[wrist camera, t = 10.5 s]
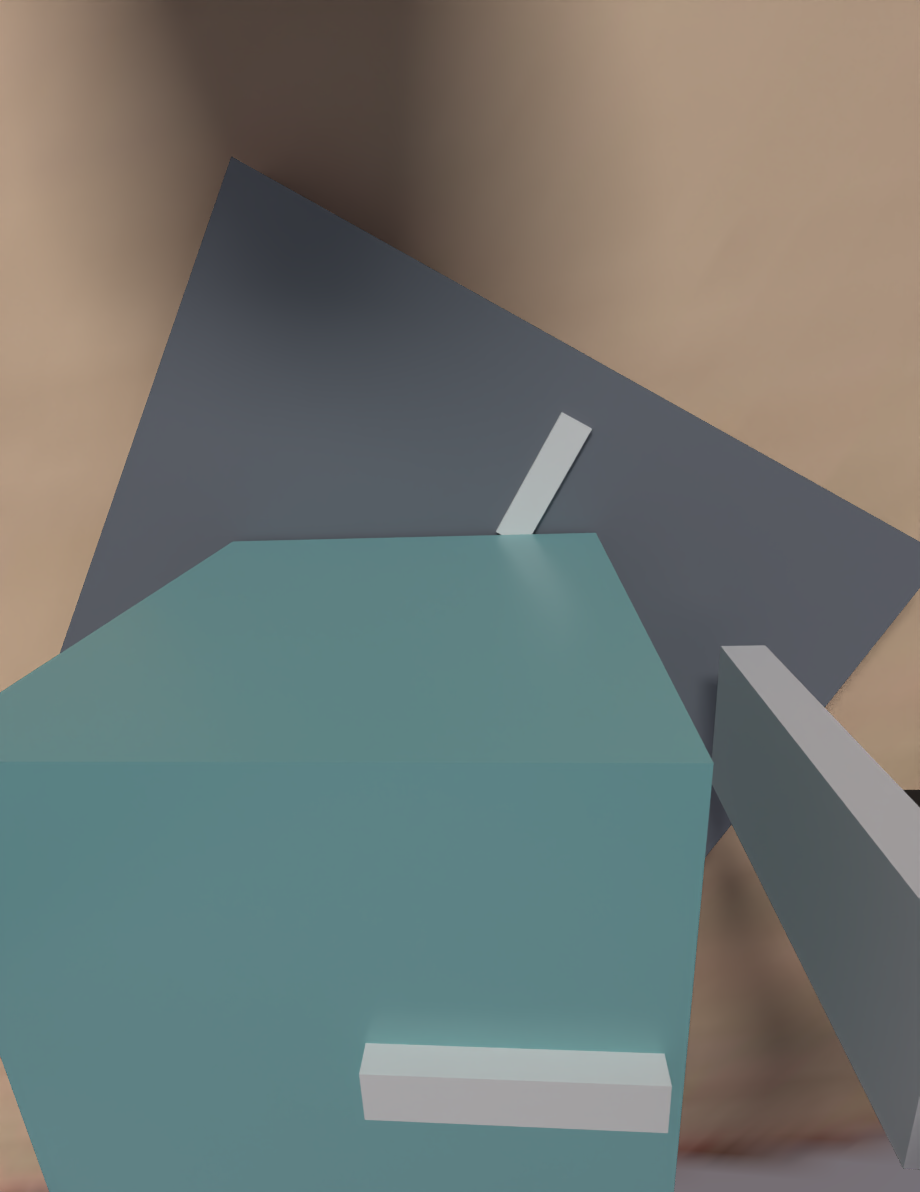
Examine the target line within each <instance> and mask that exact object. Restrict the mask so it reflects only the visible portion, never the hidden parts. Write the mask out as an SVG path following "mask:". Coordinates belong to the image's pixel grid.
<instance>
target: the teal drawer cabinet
mask: <svg viewBox="0 0 920 1192" xmlns="http://www.w3.org/2000/svg"><path fill="white" fill-rule="evenodd" d="M713 765H714V763H713V761H712V759H711V757H710V755H709V753H708V751H707V749H706V747H705V745H704V743H703V741H702V739H701V738H700V736H699V734H698V732H697V730H696V728H695V726H694V724H693V722H692V720H691V718H690V716H689V714H688V712H687V710H686V708H685V706H684V704H683V702H682V700H681V698H680V696H679V694H678V693H677V691H676V689H675V687H674V685H673V683H672V681H671V679H670V677H669V675H668V673H667V671H666V669H665V667H664V665H663V663H662V661H661V659H660V657H659V655H658V653H657V651H656V649H655V647H654V646H653V644H652V642H651V640H650V638H649V636H648V634H647V632H646V630H645V628H644V626H643V624H642V622H641V620H640V618H639V616H638V614H637V612H636V610H635V608H634V606H633V604H632V602H631V601H630V599H629V597H628V595H627V593H626V591H625V589H624V587H623V585H622V583H621V581H620V579H619V577H618V575H617V573H616V571H615V569H614V567H613V565H612V563H611V561H610V559H609V557H608V556H607V554H606V552H605V550H604V548H603V546H602V544H601V542H600V540H599V538H598V536H597V534H596V533H562V534H520V535H478V536H437V537H395V538H353V539H311V540H269V541H233V542H231V543H230V544H228V545H227V546H225V547H224V548H222V549H221V550H219V551H217V552H216V553H214V554H213V555H211V556H210V557H208V558H207V559H205V560H204V561H202V562H201V563H199V564H197V565H196V566H194V567H193V568H191V569H190V570H188V571H187V572H185V573H184V574H182V575H180V576H179V577H177V578H176V579H174V580H173V581H171V582H170V583H168V584H167V585H165V586H164V587H162V588H160V589H159V590H157V591H156V592H154V593H153V594H151V595H150V596H148V597H147V598H145V599H143V600H142V601H140V602H139V603H137V604H136V605H134V606H133V607H131V608H130V609H128V610H127V611H125V612H123V613H122V614H120V615H119V616H117V617H116V618H114V619H113V620H111V621H110V622H108V623H106V624H105V625H103V626H102V627H100V628H99V629H97V630H96V631H94V632H93V633H91V634H90V635H88V636H86V637H85V638H83V639H82V640H80V641H79V642H77V643H76V644H74V645H73V646H71V647H69V648H68V649H66V650H65V651H63V652H62V653H60V654H59V655H57V656H56V657H54V658H53V659H51V660H49V661H48V662H46V663H45V664H43V665H42V666H40V667H39V668H37V669H36V670H34V671H32V672H31V673H29V674H28V675H26V676H25V677H23V678H22V679H20V680H19V681H17V682H16V683H14V684H12V685H11V686H9V687H8V688H6V689H5V690H3V691H2V692H0V1057H1V1059H2V1062H3V1065H4V1068H5V1070H6V1073H7V1076H8V1079H9V1081H10V1084H11V1087H12V1090H13V1093H14V1095H15V1098H16V1101H17V1104H18V1106H19V1109H20V1112H21V1115H22V1118H23V1120H24V1123H25V1126H26V1129H27V1131H28V1134H29V1137H30V1140H31V1142H32V1145H33V1148H34V1151H35V1154H36V1156H37V1159H38V1162H39V1165H40V1167H41V1170H42V1173H43V1176H44V1178H45V1181H46V1184H47V1187H48V1190H49V1192H674V1186H675V1175H676V1164H677V1153H678V1143H679V1132H680V1121H681V1110H682V1099H683V1089H684V1078H685V1067H686V1056H687V1045H688V1035H689V1024H690V1013H691V1002H692V992H693V981H694V970H695V959H696V948H697V938H698V927H699V916H700V905H701V895H702V884H703V873H704V862H705V851H706V841H707V830H708V819H709V808H710V798H711V787H712V776H713Z"/></svg>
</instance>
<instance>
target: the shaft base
mask: <svg viewBox="0 0 920 1192" xmlns="http://www.w3.org/2000/svg"><path fill="white" fill-rule="evenodd" d="M562 533H596V534H597V536H598V538H599V540H600V542H601V544H602V546H603V548H604V550H605V552H606V554H607V556H608V557H609V559H610V561H611V563H612V565H613V567H614V569H615V571H616V573H617V575H618V577H619V579H620V581H621V583H622V585H623V587H624V589H625V591H626V593H627V595H628V597H629V599H630V601H631V602H632V604H633V606H634V608H635V610H636V612H637V614H638V616H639V618H640V620H641V622H642V624H643V626H644V628H645V630H646V632H647V634H648V636H649V638H650V640H651V642H652V644H653V646H654V647H655V649H656V651H657V653H658V655H659V657H660V659H661V661H662V663H663V665H664V667H665V669H666V671H667V673H668V675H669V677H670V679H671V681H672V683H673V685H674V687H675V689H676V691H677V693H678V694H679V696H680V698H681V700H682V702H683V704H684V706H685V708H686V710H687V712H688V714H689V716H690V718H691V720H692V722H693V724H694V726H695V728H696V730H697V732H698V734H699V736H700V738H701V739H702V741H703V743H704V745H705V747H706V749H707V751H708V753H709V755H710V757H711V759H712V751H713V738H714V725H715V713H716V700H717V687H718V675H719V662H720V649H721V646H754V645H765V646H766V647H767V648H768V649H769V650H770V651H771V652H772V653H773V654H774V655H775V656H776V657H777V658H778V659H779V660H780V661H781V662H782V663H783V665H784V666H785V667H786V668H787V669H788V670H789V671H790V672H791V673H792V674H793V675H794V676H795V677H796V678H797V679H798V680H799V681H800V682H801V683H802V684H803V686H804V687H805V688H806V689H807V690H808V691H809V692H810V693H811V694H812V695H813V696H814V697H815V698H816V699H817V700H818V701H819V702H820V703H821V704H822V705H823V707H824V708H825V706H826V705H827V704H828V703H829V701H830V700H831V699H832V698H833V696H834V695H835V694H836V693H837V691H838V690H839V689H840V688H841V686H842V685H843V684H844V682H845V681H846V680H847V679H848V677H849V676H850V675H851V674H852V672H853V671H854V670H855V669H856V667H857V666H858V665H859V664H860V662H861V661H862V660H863V659H864V657H865V656H866V655H867V654H868V652H869V651H870V650H871V649H872V647H873V646H874V645H875V644H876V642H877V641H878V640H879V639H880V637H881V636H882V635H883V633H884V632H885V631H886V630H887V628H888V627H889V626H890V625H891V623H892V622H893V621H894V620H895V618H896V617H897V616H898V615H899V613H900V612H901V611H902V610H903V608H904V607H905V606H906V605H907V603H908V602H909V601H910V600H911V598H912V597H913V596H914V595H915V593H916V592H917V591H918V590H919V588H920V542H919V541H917V540H915V539H914V538H912V537H910V536H908V535H907V534H905V533H903V532H901V531H899V530H898V529H896V528H894V527H892V526H890V525H889V524H887V523H885V522H883V521H882V520H880V519H878V518H876V517H874V516H873V515H871V514H869V513H867V512H865V511H864V510H862V509H860V508H858V507H857V506H855V505H853V504H851V503H849V502H848V501H846V500H844V499H842V498H840V497H839V496H837V495H835V494H833V493H832V492H830V491H828V490H826V489H824V488H823V487H821V486H819V485H817V484H815V483H814V482H812V481H810V480H808V479H807V478H805V477H803V476H801V475H799V474H798V473H796V472H794V471H792V470H790V469H789V468H787V467H785V466H783V465H782V464H780V463H778V462H776V461H774V460H773V459H771V458H769V457H767V456H765V455H764V454H762V453H760V452H758V451H757V450H755V449H753V448H751V447H749V446H748V445H746V444H744V443H742V442H740V441H739V440H737V439H735V438H733V437H732V436H730V435H728V434H726V433H724V432H723V431H721V430H719V429H717V428H715V427H714V426H712V425H710V424H708V423H707V422H705V421H703V420H701V419H699V418H698V417H696V416H694V415H692V414H690V413H689V412H687V411H685V410H683V409H682V408H680V407H678V406H676V405H674V404H673V403H671V402H669V401H667V400H665V399H664V398H662V397H660V396H658V395H656V394H655V393H653V392H651V391H649V390H648V389H646V388H644V387H642V386H640V385H639V384H637V383H635V382H633V381H631V380H630V379H628V378H626V377H624V376H623V375H621V374H619V373H617V372H615V371H614V370H612V369H610V368H608V367H606V366H605V365H603V364H601V363H599V362H598V361H596V360H594V359H592V358H590V357H589V356H587V355H585V354H583V353H581V352H580V351H578V350H576V349H574V348H573V347H571V346H569V345H567V344H565V343H564V342H562V341H560V340H558V339H556V338H555V337H553V336H551V335H549V334H548V333H546V332H544V331H542V330H540V329H539V328H537V327H535V326H533V325H531V324H530V323H528V322H526V321H524V320H523V319H521V318H519V317H517V316H515V315H514V314H512V313H510V312H508V311H506V310H505V309H503V308H501V307H499V306H498V305H496V304H494V303H492V302H490V301H489V300H487V299H485V298H483V297H481V296H480V295H478V294H476V293H474V292H473V291H471V290H469V289H467V288H465V287H464V286H462V285H460V284H458V283H456V282H455V281H453V280H451V279H449V278H448V277H446V276H444V275H442V274H440V273H439V272H437V271H435V270H433V269H431V268H430V267H428V266H426V265H424V264H423V263H421V262H419V261H417V260H415V259H414V258H412V257H410V256H408V255H406V254H405V253H403V252H401V251H399V250H398V249H396V248H394V247H392V246H390V245H389V244H387V243H385V242H383V241H381V240H380V239H378V238H376V237H374V236H372V235H371V234H369V233H367V232H365V231H364V230H362V229H360V228H358V227H356V226H355V225H353V224H351V223H349V222H347V221H346V220H344V219H342V218H340V217H339V216H337V215H335V214H333V213H331V212H330V211H328V210H326V209H324V208H322V207H321V206H319V205H317V204H315V203H314V202H312V201H310V200H308V199H306V198H305V197H303V196H301V195H299V194H297V193H296V192H294V191H292V190H290V189H289V188H287V187H285V186H283V185H281V184H280V183H278V182H276V181H274V180H272V179H271V178H269V177H267V176H265V175H264V174H262V173H260V172H258V171H256V170H255V169H253V168H251V167H249V166H247V165H246V164H244V163H242V162H240V161H239V160H237V159H235V158H233V157H231V159H230V162H229V165H228V168H227V171H226V173H225V176H224V179H223V182H222V185H221V188H220V191H219V194H218V197H217V200H216V202H215V205H214V208H213V211H212V214H211V217H210V220H209V223H208V226H207V229H206V231H205V234H204V237H203V240H202V243H201V246H200V249H199V252H198V255H197V257H196V260H195V263H194V266H193V269H192V272H191V275H190V278H189V281H188V284H187V286H186V289H185V292H184V295H183V298H182V301H181V304H180V307H179V310H178V313H177V315H176V318H175V321H174V324H173V327H172V330H171V333H170V336H169V339H168V342H167V344H166V347H165V350H164V353H163V356H162V359H161V362H160V365H159V368H158V371H157V373H156V376H155V379H154V382H153V385H152V388H151V391H150V394H149V397H148V399H147V402H146V405H145V408H144V411H143V414H142V417H141V420H140V423H139V426H138V428H137V431H136V434H135V437H134V440H133V443H132V446H131V449H130V452H129V455H128V457H127V460H126V463H125V466H124V469H123V472H122V475H121V478H120V481H119V484H118V486H117V489H116V492H115V495H114V498H113V501H112V504H111V507H110V510H109V512H108V515H107V518H106V521H105V524H104V527H103V530H102V533H101V536H100V539H99V541H98V544H97V547H96V550H95V553H94V556H93V559H92V562H91V565H90V568H89V570H88V573H87V576H86V579H85V582H84V585H83V588H82V591H81V594H80V597H79V599H78V602H77V605H76V608H75V611H74V614H73V617H72V620H71V623H70V626H69V628H68V631H67V634H66V637H65V640H64V643H63V646H62V649H61V652H60V653H62V652H63V651H65V650H66V649H68V648H69V647H71V646H73V645H74V644H76V643H77V642H79V641H80V640H82V639H83V638H85V637H86V636H88V635H90V634H91V633H93V632H94V631H96V630H97V629H99V628H100V627H102V626H103V625H105V624H106V623H108V622H110V621H111V620H113V619H114V618H116V617H117V616H119V615H120V614H122V613H123V612H125V611H127V610H128V609H130V608H131V607H133V606H134V605H136V604H137V603H139V602H140V601H142V600H143V599H145V598H147V597H148V596H150V595H151V594H153V593H154V592H156V591H157V590H159V589H160V588H162V587H164V586H165V585H167V584H168V583H170V582H171V581H173V580H174V579H176V578H177V577H179V576H180V575H182V574H184V573H185V572H187V571H188V570H190V569H191V568H193V567H194V566H196V565H197V564H199V563H201V562H202V561H204V560H205V559H207V558H208V557H210V556H211V555H213V554H214V553H216V552H217V551H219V550H221V549H222V548H224V547H225V546H227V545H228V544H230V543H231V542H233V541H269V540H311V539H353V538H395V537H437V536H478V535H520V534H562ZM731 824H732V823H731V821H730V819H729V817H728V815H727V813H726V811H725V809H724V807H723V805H722V803H721V801H720V799H719V797H718V795H717V793H716V791H715V789H714V787H713V785H712V787H711V798H710V808H709V819H708V830H707V841H706V851H705V857H706V856H707V855H708V853H709V852H710V851H711V850H712V848H713V847H714V846H715V845H716V843H717V842H718V841H719V840H720V838H721V837H722V836H723V835H724V833H725V832H726V831H727V829H728V828H729V827H730V826H731Z"/></svg>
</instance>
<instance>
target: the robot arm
mask: <svg viewBox="0 0 920 1192" xmlns="http://www.w3.org/2000/svg"><path fill="white" fill-rule="evenodd" d="M712 761H713V763H714V765H713V776H712V785H713V787H714V789H715V791H716V793H717V795H718V797H719V799H720V801H721V803H722V805H723V807H724V809H725V811H726V813H727V815H728V817H729V819H730V821H731V823H732V826H733V828H734V830H735V832H736V834H737V836H738V838H739V840H740V842H741V844H742V846H743V848H744V850H745V852H746V854H747V856H748V858H749V860H750V862H751V864H752V866H753V868H754V870H755V872H756V874H757V876H758V878H759V880H760V882H761V884H762V886H763V888H764V890H765V892H766V894H767V896H768V898H769V900H770V902H771V904H772V906H773V908H774V910H775V912H776V914H777V916H778V918H779V920H780V922H781V924H782V926H783V928H784V930H785V932H786V934H787V936H788V938H789V940H790V942H791V944H792V946H793V948H794V950H795V952H796V954H797V956H798V958H799V960H800V962H801V964H802V966H803V968H804V970H805V972H806V974H807V976H808V978H809V980H810V982H811V984H812V986H813V988H814V990H815V992H816V994H817V996H818V998H819V1000H820V1002H821V1004H822V1006H823V1008H824V1010H825V1012H826V1014H827V1016H828V1018H829V1020H830V1023H831V1025H832V1027H833V1029H834V1031H835V1033H836V1035H837V1037H838V1039H839V1041H840V1043H841V1045H842V1047H843V1049H844V1051H845V1053H846V1055H847V1057H848V1059H849V1061H850V1063H851V1065H852V1067H853V1069H854V1071H855V1073H856V1075H857V1077H858V1079H859V1081H860V1083H861V1085H862V1087H863V1089H864V1091H865V1093H866V1095H867V1097H868V1099H869V1101H870V1103H871V1105H872V1107H873V1109H874V1111H875V1113H876V1115H877V1117H878V1119H879V1121H880V1123H881V1125H882V1127H883V1129H884V1131H885V1133H886V1135H887V1137H888V1139H889V1141H890V1143H891V1145H892V1147H893V1149H894V1151H895V1153H896V1155H897V1157H898V1159H899V1161H900V1163H901V1165H902V1167H903V1169H918V1170H920V790H903V789H902V788H901V787H900V786H899V785H898V784H897V783H896V782H895V781H894V780H893V779H892V778H891V777H890V776H889V775H888V774H887V773H886V772H885V771H884V770H883V768H882V767H881V766H880V765H879V764H878V763H877V762H876V761H875V760H874V759H873V758H872V757H871V756H870V755H869V754H868V753H867V752H866V751H865V750H864V749H863V747H862V746H861V745H860V744H859V743H858V742H857V741H856V740H855V739H854V738H853V737H852V736H851V735H850V734H849V733H848V732H847V731H846V730H845V729H844V728H843V726H842V725H841V724H840V723H839V722H838V721H837V720H836V719H835V718H834V717H833V716H832V715H831V714H830V713H829V712H828V711H827V710H826V709H825V708H824V707H823V705H822V704H821V703H820V702H819V701H818V700H817V699H816V698H815V697H814V696H813V695H812V694H811V693H810V692H809V691H808V690H807V689H806V688H805V687H804V686H803V684H802V683H801V682H800V681H799V680H798V679H797V678H796V677H795V676H794V675H793V674H792V673H791V672H790V671H789V670H788V669H787V668H786V667H785V666H784V665H783V663H782V662H781V661H780V660H779V659H778V658H777V657H776V656H775V655H774V654H773V653H772V652H771V651H770V650H769V649H768V648H767V647H766V646H765V645H754V646H721V649H720V662H719V675H718V687H717V700H716V713H715V725H714V738H713V751H712Z"/></svg>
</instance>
